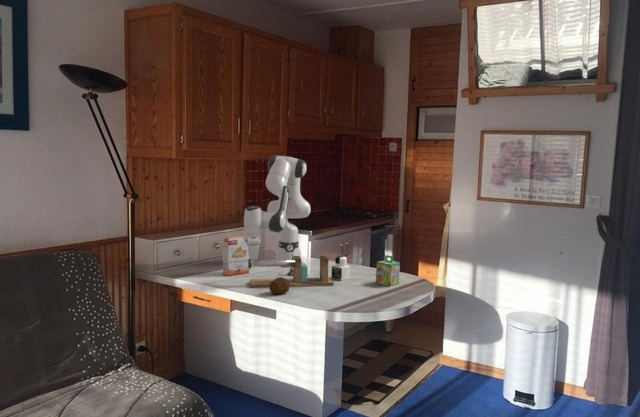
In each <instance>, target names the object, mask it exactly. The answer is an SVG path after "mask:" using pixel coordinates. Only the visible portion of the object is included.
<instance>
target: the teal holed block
mask: <svg viewBox="0 0 640 417" xmlns="http://www.w3.org/2000/svg"><path fill="white" fill-rule="evenodd" d="M307 275H308V265H307V264H306V263H305V262H304V263H302V264H301V282H307V278H308V276H307Z"/></svg>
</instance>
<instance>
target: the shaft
mask: <svg viewBox="0 0 640 417" xmlns="http://www.w3.org/2000/svg"><path fill="white" fill-rule="evenodd" d="M291 266H295V260H275V259H274V260H273V259H272V260H271V259H270V260H269V259H268V260H255V266H254V267H253V268H255V267H262V268H263V267H291ZM248 269H249V270H250V269H252V266H251V260H250V258H249V259H248Z"/></svg>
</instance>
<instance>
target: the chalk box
mask: <svg viewBox="0 0 640 417" xmlns="http://www.w3.org/2000/svg"><path fill="white" fill-rule="evenodd" d="M388 258H389V259H390V260H389V259H388ZM375 267H376V268H375V269H376V272H375V284H377V285H382V286H386V287H392V286H395V285H398V284H400V274H401V273H400V271H401V270H400V269H401V263H400V262H399V261H394V256H393V255H387V254H386V255H385V257H384V260H380V261H376V266H375Z"/></svg>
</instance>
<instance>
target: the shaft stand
mask: <svg viewBox="0 0 640 417" xmlns="http://www.w3.org/2000/svg"><path fill="white" fill-rule="evenodd" d="M294 260H295V266H293V268H292V269H293V272H292V273H293V276H292V278H286V279H287V280H288V281H289V282H290V288H296V287H297V288H298V287H303V288H304V287H328V286H329V287H331V286H335V285H334V281H333V279H332V278H330V277H329V257H328V256H327V255H319V277H307V282H301V261H302V257H301V258H300V256H294ZM275 279H276V278H262V279H261V278H257V279H255V278H254V279H249V284H250V288H251V289H256V288H257V289H258V288H260V289H262V288H263V289H264V288H265V289H266V288H269V286H270V283H271V282H272V281H273V280H275Z"/></svg>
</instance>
